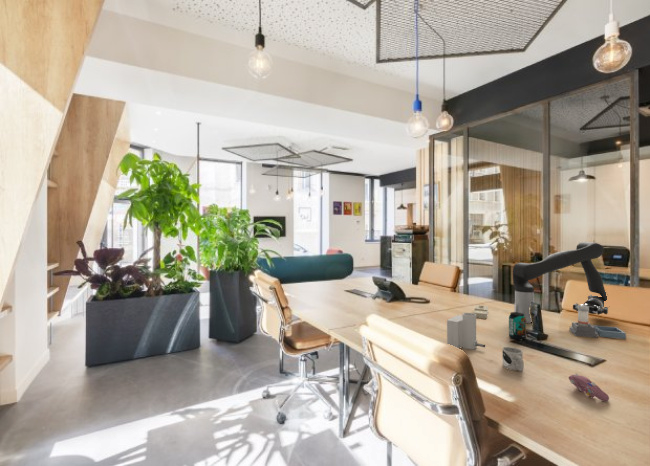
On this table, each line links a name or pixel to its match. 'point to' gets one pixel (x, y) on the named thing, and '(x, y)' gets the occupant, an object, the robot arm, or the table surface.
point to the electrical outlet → (481, 311)
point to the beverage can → (517, 325)
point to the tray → (609, 332)
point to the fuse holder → (583, 330)
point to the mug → (513, 358)
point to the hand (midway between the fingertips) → (587, 311)
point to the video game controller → (588, 387)
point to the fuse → (583, 315)
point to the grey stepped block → (462, 331)
